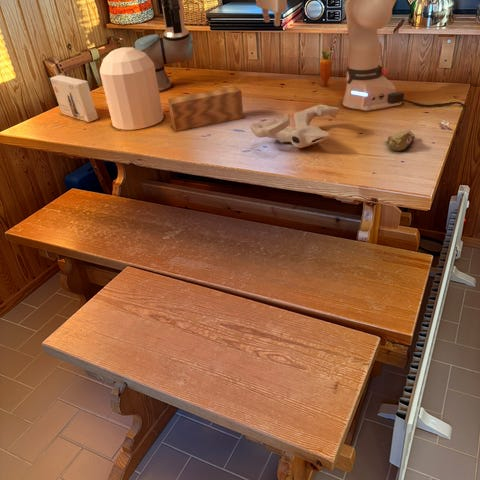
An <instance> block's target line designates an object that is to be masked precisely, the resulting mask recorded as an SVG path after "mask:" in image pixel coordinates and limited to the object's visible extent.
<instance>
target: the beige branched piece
mask: <svg viewBox="0 0 480 480" xmlns="http://www.w3.org/2000/svg"><path fill="white" fill-rule="evenodd" d="M340 111H341V110H340V108H339V107H337V106H329V105H325V104H317V105H314V106H311V107H308V108H306V109H303V110H299V111H297V112H294V114H293V123H294V126H295V128H294V129H293V128H290V126H291V117H290V115H289V114H285V115H284V116H283V118H282V119H280V121H278V120H276V119H269V120H264V121H259V122H254V123H251V124H250V131H251V133H253V135H254V136H256V137H257V138H269V139H276V140H277V141H279V142H280V143H291V144H292V146H293V147H295V148H297V149H303V148H307V147H310V146H314V145H316V144H319V143H321V142H323V141H326V140H329V138H330V134H329V132H328V131H326V130H322V129H321V128H320V127H318V126H317V125H314V124H311V122H312V120H313V119H314V118H315V117H316V118H325V117H331V118H335V119H336V118H337V117H338V115H339V113H340Z"/></svg>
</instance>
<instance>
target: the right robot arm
mask: <svg viewBox="0 0 480 480" xmlns="http://www.w3.org/2000/svg"><path fill="white" fill-rule="evenodd" d="M396 2H397V0H345V3H344V13H345V17H346V27H347V28H346V29H347V37H348V62H347V63H348V65H347V67H346V72H345V73H346V74H345V77H346V78H345V81H346V87H345V91H344V96H343V99H342V102H341V103H342V106H343V107H346V108H349V109H355V110H361V111H364V112H369V111H375V110H380V109H385V108H391V107H397V106H401V105H402V103H403V102H404V103H409V104H412V105H415V106H419V107H426V108H427V107H438V106H439V107H441V106H448V105H454V104H455V105H460V106H462V107H463V108H466V107H467V106H466V105H465V104H464V103H462V102H460V101H449V102H444V103H433V104H424V103H419V102H414V101H412V100H408V99H404V97H405V93H404V92H402V91H397V89H396V86H395V84H394V83H393V82H392V81H391V80H389V79H388V78H387V77H385V76H384V75H386V74H387V73H388V69H387V68H386V67H383V66H381V65H379V63H380V62H379V61H380V49H381V43H380V39H379V34H378V30H381V29H383V28H385V27H386V26H387V25H388V24H389V23H390V22H391V19H392V15H393V8H394V6H395V3H396ZM255 4H256V6H257V8H260V9H261V13H262V16H263V22H264V23H270V22H271V17H270V15H269V12H273V15H274V20H273V27H280V26H281V19H282V15H283V13H286V12H287V10H288V0H255Z"/></svg>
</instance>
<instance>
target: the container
mask: <svg viewBox="0 0 480 480" xmlns="http://www.w3.org/2000/svg"><path fill="white" fill-rule="evenodd" d="M99 76H100V79H101V84H102V87H103V91H104V95H105V100H106V103H107V107H108V111H109V115H110V119H111V123H112V124H111V125H112V126H113V127H114V128H116V129H118V130H124V131H128V130H130V131H131V130H139V129H140V130H141V129H146V128H149V127H152V126H155V125H157V124H159V123H160V122H162V120H163V119H164V111H163V107H162V106H163V105H162V100H161V95H160V92H159V89H158V84H157V78H156V73H155V67H154V63H153V61H152V60H151V59H150V58H149V57H148V56H147V54H146V53H144V52H142V51H140V50H137V49H135V47H134V46H133V47H131V46H130V47H129V46H128V47H127V46H125V47H119V48H115V49H113V50H111V51H110V52H109V53H108V54H107V55H106V56H104V58H103V59H102V62H101V65H100V67H99Z"/></svg>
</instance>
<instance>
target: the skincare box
mask: <svg viewBox="0 0 480 480" xmlns="http://www.w3.org/2000/svg"><path fill="white" fill-rule="evenodd" d="M49 80H50V83H51V86H52V89H53V91H54V95H55V98H56V100H57V103H58V106H59V109H60V112H61V114H62V115H65V116H68V117H71V118H73V119H78V120H81V121H84V122H87V123H91V122H94V121H96V120H98V119H99V116H98V112H97V110H96V107H95V103H94V102H95V101H94V99H93V96H92V93H91V89H90V86H89V82H88V80H84V79H79V78H76V77H71V76H67V75H63V74H57V75H55V76H52V77H49Z"/></svg>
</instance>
